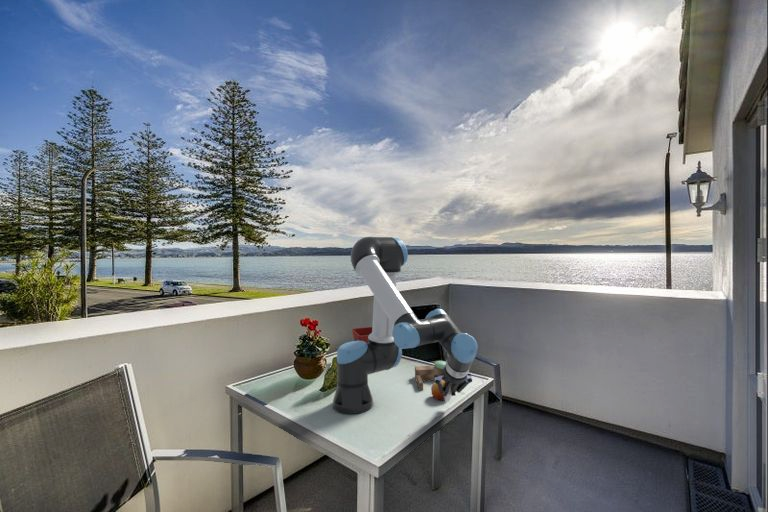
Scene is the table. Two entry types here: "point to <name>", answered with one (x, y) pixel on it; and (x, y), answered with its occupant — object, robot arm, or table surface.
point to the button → (440, 364)
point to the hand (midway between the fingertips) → (446, 397)
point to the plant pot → (361, 334)
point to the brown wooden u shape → (419, 381)
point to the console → (428, 372)
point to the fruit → (437, 391)
